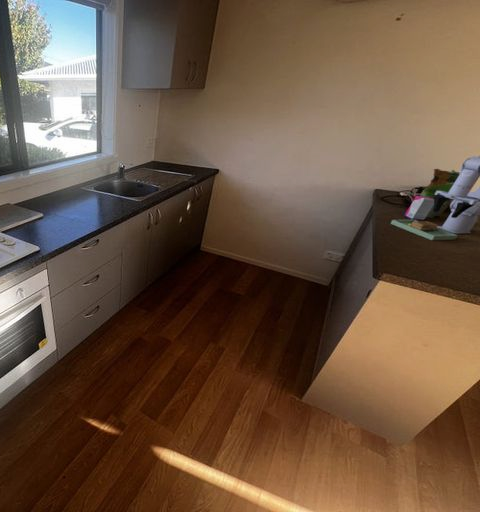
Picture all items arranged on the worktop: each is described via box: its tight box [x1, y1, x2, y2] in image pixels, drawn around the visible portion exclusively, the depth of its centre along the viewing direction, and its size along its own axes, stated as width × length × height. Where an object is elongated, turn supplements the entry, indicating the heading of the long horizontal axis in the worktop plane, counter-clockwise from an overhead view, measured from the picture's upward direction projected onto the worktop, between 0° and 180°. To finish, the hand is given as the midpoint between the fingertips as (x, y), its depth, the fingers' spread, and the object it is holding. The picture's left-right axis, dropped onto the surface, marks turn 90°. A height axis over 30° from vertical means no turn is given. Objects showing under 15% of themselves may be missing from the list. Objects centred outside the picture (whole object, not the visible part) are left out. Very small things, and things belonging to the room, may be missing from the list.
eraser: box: [411, 220, 438, 232], centre depth 139 cm, size 8×4×4 cm, turn 95°
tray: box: [390, 219, 459, 241], centre depth 140 cm, size 12×19×2 cm, turn 6°
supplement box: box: [404, 195, 434, 221], centre depth 153 cm, size 6×6×12 cm
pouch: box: [419, 168, 460, 219], centre depth 153 cm, size 11×12×25 cm
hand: (444, 214), depth 134 cm, fingers open, 7 cm apart
